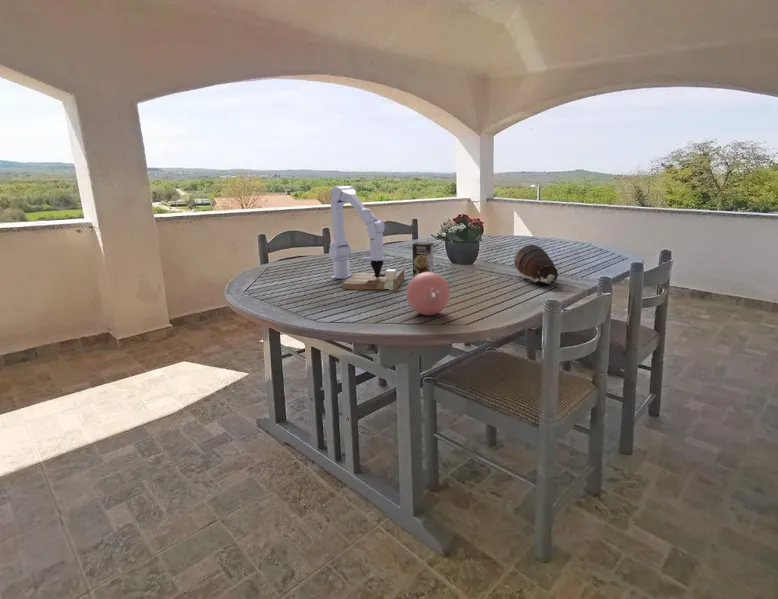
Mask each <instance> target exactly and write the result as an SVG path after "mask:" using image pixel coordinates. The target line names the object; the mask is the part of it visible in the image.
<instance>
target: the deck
mask: <svg viewBox="0 0 778 599" xmlns="http://www.w3.org/2000/svg"><path fill="white" fill-rule="evenodd" d="M404 280H405V268H401V269H400V270H399V272H398V273H396V276H395V277H394V279H393V280H386V273H381V272H380V277H379V278H376V276H375V272H372V273H369V272H355V273H354V274H352V275H351V276H349V277H348V278H347V279H346V280H345V281H343V282H342V289H343V290H371V289H389V290H388V291H397V289H398V288H399V286H401V284H402V283H403V281H404Z"/></svg>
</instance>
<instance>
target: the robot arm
mask: <svg viewBox="0 0 778 599" xmlns="http://www.w3.org/2000/svg"><path fill="white" fill-rule="evenodd" d="M329 194H330V209H331V210H330V211H331V212H330V213H331V221H332V223H331V224H332V233H333V235H332V236H333V237H332V238H333V240H332V241H331V242H330V244H329V250H328V254H329V257H330V259H331V260H332V262H333V263H332V266H333V276H331V277H330V278H331V279H346V280H348V279H349V278H350V277H351V276H353V273H351V265H350V264H351V262H350V260H349V259H350V256H351V253H352V249H351V247H350V243H349V241H348V240H347V239H346V236H345V222H344V221H345V220H344V211H343V207H344V205H345V204H346V203H349V204H350V205H351V206H352V207H353V208H354V209H355V210H356V212H358V217H359V219H360V220H361V221H362V223H363V224H364V225H365V226H366V232H367V233H368V237H369V243H370V245H369V247H370V248H369V249H370V256H362V257H360V262H361V263H365V262H366V263H367V262H370V266H371V267H372V269H373V273H375V276H376V278H379V277H380V273H381V271H382V269H383V268H382V267H383V265H384V263H393V262H394V257H393V256H384V237H383V235H384V234H383V233H384V232H385V230H386V225H385V222H384V221H383V220H381V219H378V217H377V216H375V215H374V213H373V212H372V209H371V208H368V207H365V206H364V204H363V203H362V201H361V200H360V199H359V197H358V196H357V193H356V190H355V189H354V188H353V185H345V186H344V185H343V186H342V185H341V186H336V185H335V186H333V187H332V188H331V190H330V191H329Z"/></svg>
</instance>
